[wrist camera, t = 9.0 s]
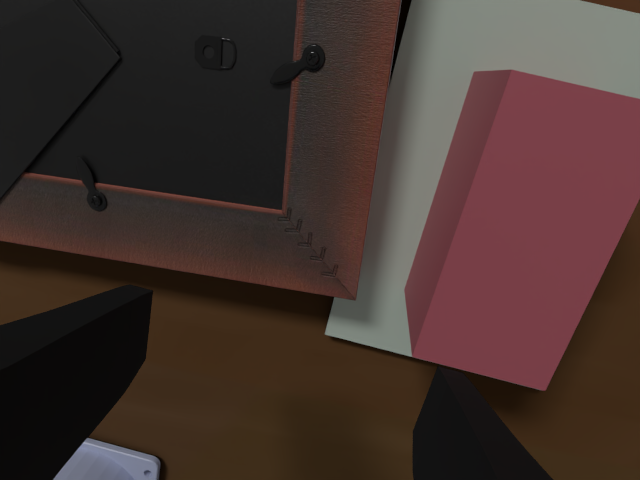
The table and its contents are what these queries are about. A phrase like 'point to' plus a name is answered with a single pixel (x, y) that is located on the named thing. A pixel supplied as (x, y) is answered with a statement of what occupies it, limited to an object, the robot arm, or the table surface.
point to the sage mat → (442, 117)
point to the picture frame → (197, 133)
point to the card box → (522, 224)
